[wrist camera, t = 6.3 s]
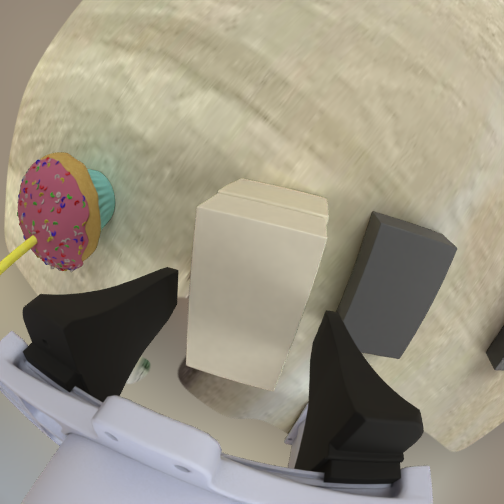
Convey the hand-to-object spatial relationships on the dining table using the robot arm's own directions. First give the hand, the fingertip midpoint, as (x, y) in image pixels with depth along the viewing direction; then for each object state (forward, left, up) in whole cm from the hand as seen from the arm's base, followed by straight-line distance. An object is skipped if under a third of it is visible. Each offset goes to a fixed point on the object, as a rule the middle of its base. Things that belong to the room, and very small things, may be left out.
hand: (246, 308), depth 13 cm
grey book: (0, -8, -7) cm, 11 cm away
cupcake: (+1, +15, -7) cm, 16 cm away
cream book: (0, 0, -2) cm, 2 cm away
